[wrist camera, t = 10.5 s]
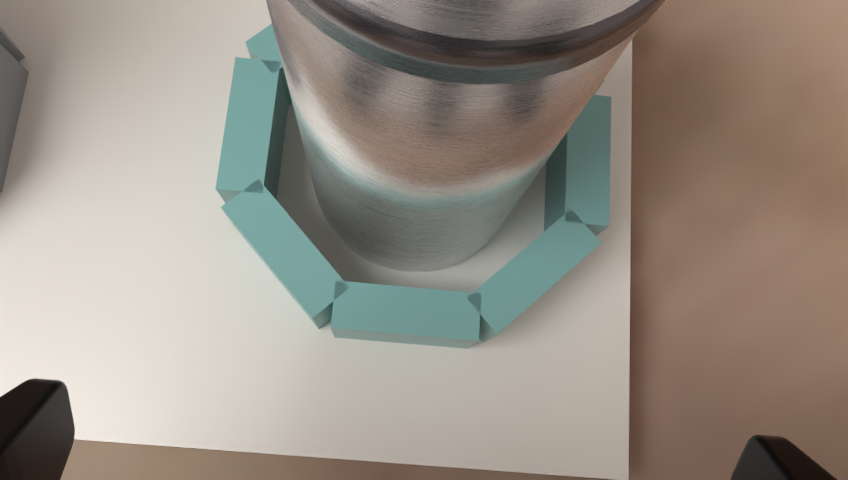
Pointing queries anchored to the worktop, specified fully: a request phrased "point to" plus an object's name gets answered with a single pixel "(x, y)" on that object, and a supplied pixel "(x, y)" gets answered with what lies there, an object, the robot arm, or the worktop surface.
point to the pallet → (221, 316)
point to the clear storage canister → (439, 110)
